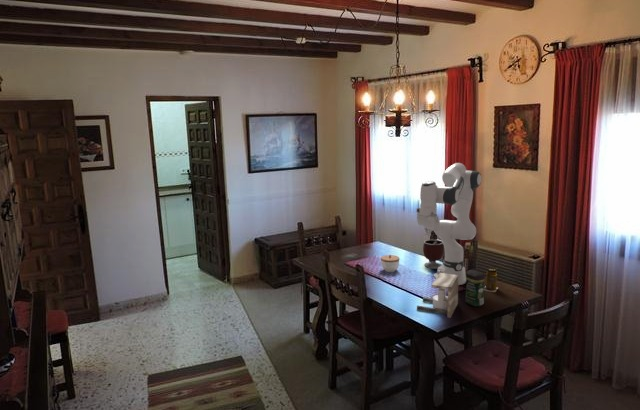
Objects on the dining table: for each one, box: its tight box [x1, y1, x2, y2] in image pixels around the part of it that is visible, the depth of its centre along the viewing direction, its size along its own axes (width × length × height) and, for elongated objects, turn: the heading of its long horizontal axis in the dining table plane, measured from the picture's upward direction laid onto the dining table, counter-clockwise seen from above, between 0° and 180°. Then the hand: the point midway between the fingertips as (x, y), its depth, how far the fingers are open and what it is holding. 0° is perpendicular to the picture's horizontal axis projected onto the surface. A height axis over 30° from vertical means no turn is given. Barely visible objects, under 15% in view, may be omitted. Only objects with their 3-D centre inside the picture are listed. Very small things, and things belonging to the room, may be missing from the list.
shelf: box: [416, 273, 459, 319], centre depth 236 cm, size 18×20×16 cm
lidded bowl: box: [380, 254, 400, 273], centre depth 300 cm, size 13×13×11 cm
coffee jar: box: [464, 269, 486, 307], centre depth 240 cm, size 10×8×19 cm
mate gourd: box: [422, 239, 445, 269], centre depth 306 cm, size 16×14×20 cm
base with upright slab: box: [432, 288, 448, 310], centre depth 235 cm, size 9×9×12 cm
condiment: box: [483, 268, 499, 293], centre depth 261 cm, size 7×8×12 cm
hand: (428, 235), depth 244 cm, fingers closed
